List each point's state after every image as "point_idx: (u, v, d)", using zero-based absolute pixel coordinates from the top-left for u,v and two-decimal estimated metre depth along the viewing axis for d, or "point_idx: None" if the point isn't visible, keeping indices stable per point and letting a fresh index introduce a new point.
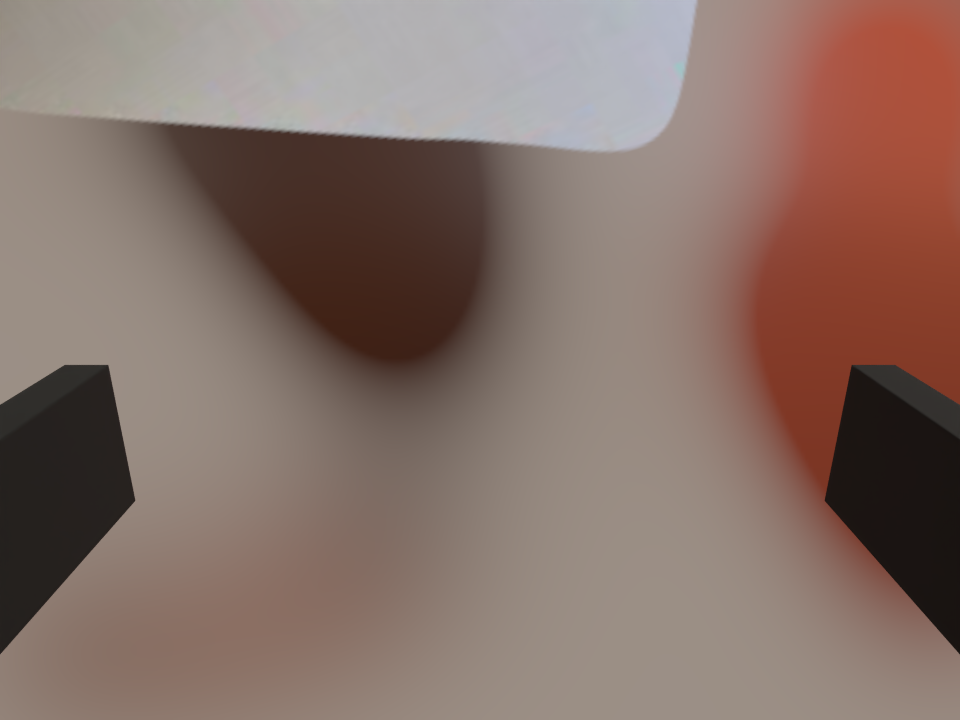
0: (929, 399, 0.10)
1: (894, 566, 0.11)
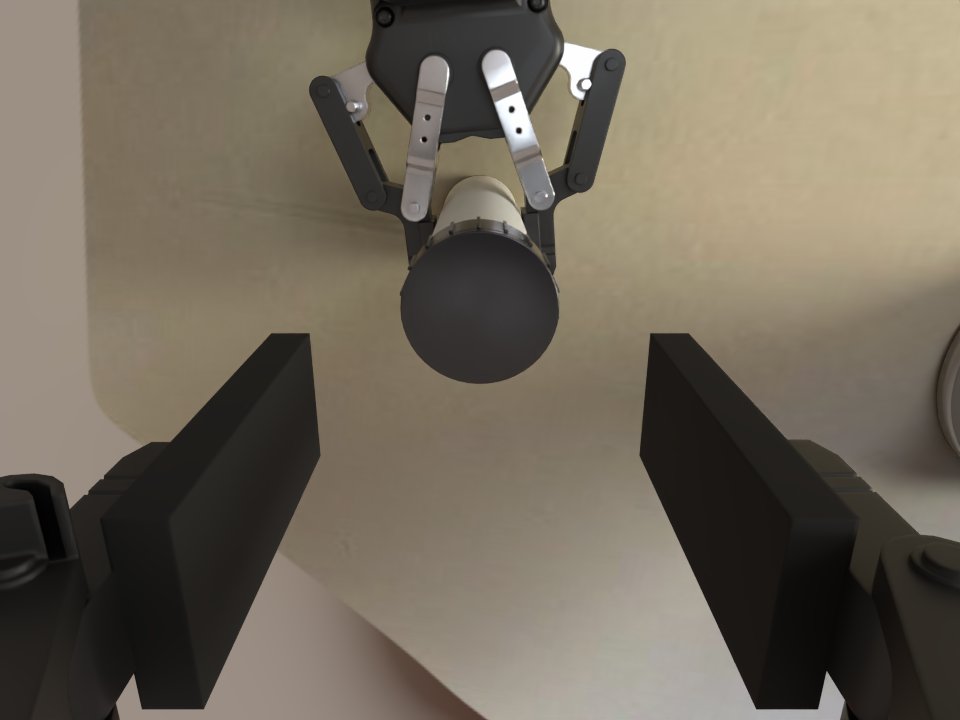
0: (693, 359, 0.12)
1: (667, 504, 0.12)
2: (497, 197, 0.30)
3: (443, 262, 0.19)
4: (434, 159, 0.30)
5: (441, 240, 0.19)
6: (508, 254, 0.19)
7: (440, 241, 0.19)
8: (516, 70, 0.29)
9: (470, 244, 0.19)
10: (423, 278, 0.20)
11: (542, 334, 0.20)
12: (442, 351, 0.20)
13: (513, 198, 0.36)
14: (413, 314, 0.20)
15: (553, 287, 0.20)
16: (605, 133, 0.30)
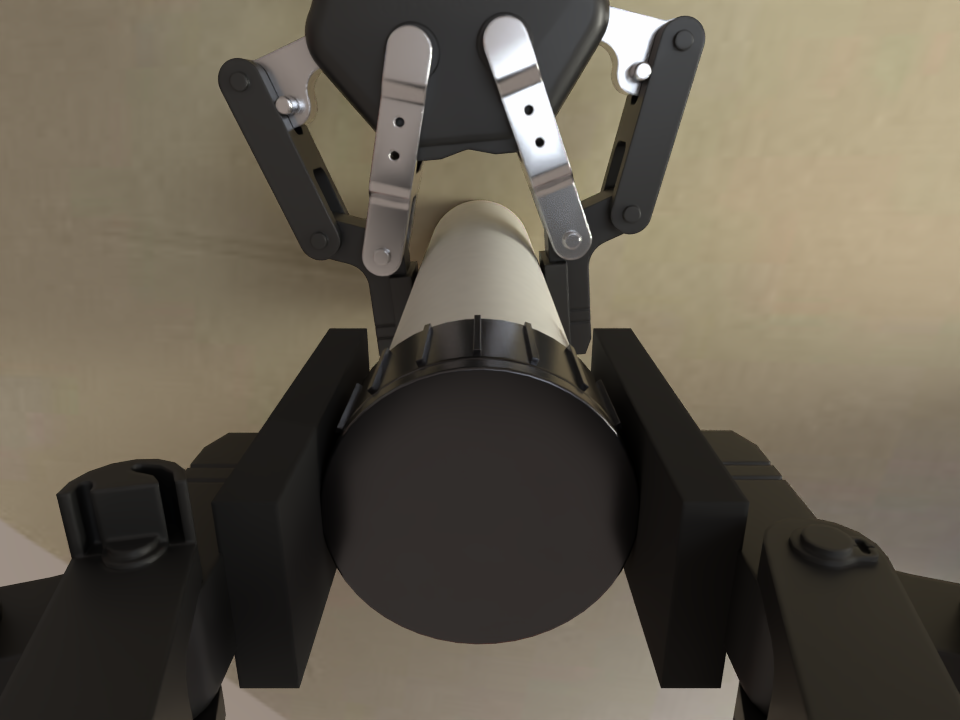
0: (629, 353, 0.12)
1: None
2: (506, 243, 0.20)
3: (404, 428, 0.09)
4: (410, 185, 0.19)
5: (399, 384, 0.09)
6: (539, 412, 0.09)
7: (397, 386, 0.09)
8: (536, 50, 0.19)
9: (460, 393, 0.09)
10: (363, 458, 0.10)
11: (605, 559, 0.10)
12: (405, 590, 0.10)
13: (526, 232, 0.26)
14: (345, 524, 0.10)
15: (630, 475, 0.10)
16: (670, 146, 0.20)
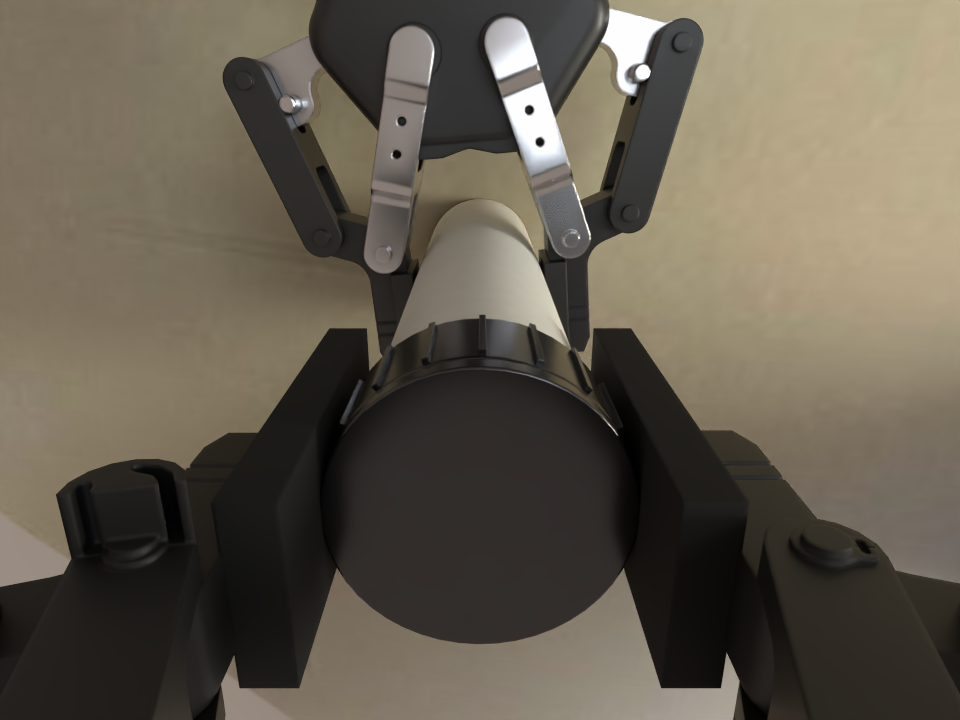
0: (629, 353, 0.12)
1: None
2: (506, 241, 0.20)
3: (396, 587, 0.10)
4: (412, 184, 0.20)
5: (357, 591, 0.10)
6: (356, 482, 0.10)
7: (359, 592, 0.10)
8: (537, 51, 0.19)
9: (351, 549, 0.10)
10: (433, 614, 0.10)
11: (514, 393, 0.09)
12: (574, 571, 0.10)
13: (526, 231, 0.26)
14: (505, 624, 0.10)
15: (406, 389, 0.09)
16: (668, 146, 0.20)
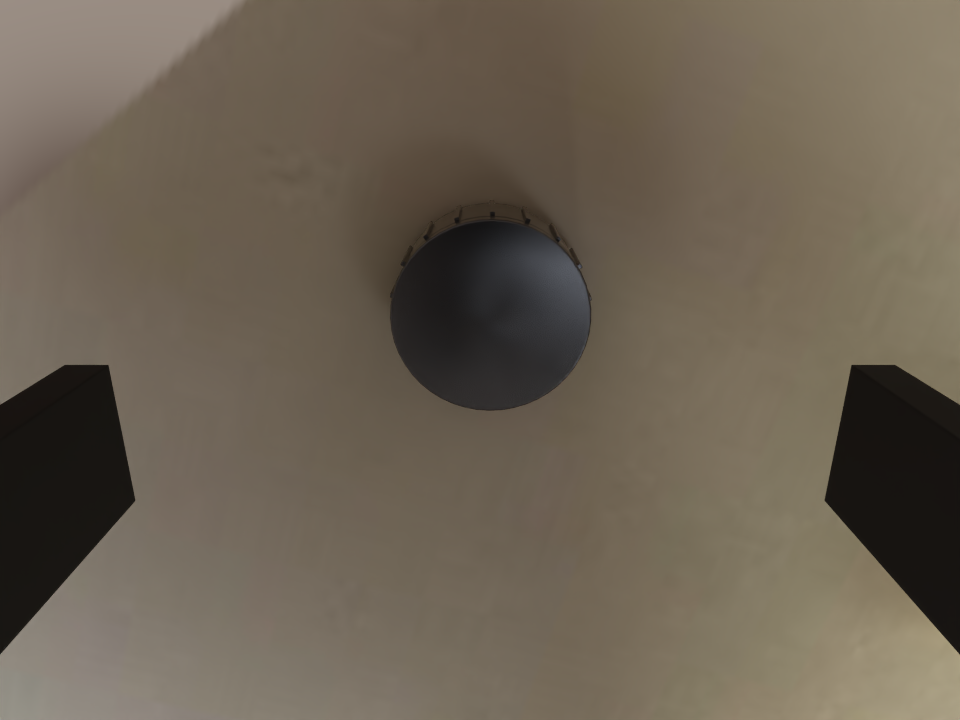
0: (929, 399, 0.10)
1: (894, 566, 0.11)
2: None
3: (437, 369, 0.16)
4: None
5: (412, 373, 0.16)
6: (413, 296, 0.16)
7: (413, 374, 0.16)
8: None
9: (409, 342, 0.16)
10: (460, 389, 0.16)
11: (512, 236, 0.15)
12: (550, 358, 0.16)
13: None
14: (506, 395, 0.16)
15: (446, 233, 0.15)
16: None
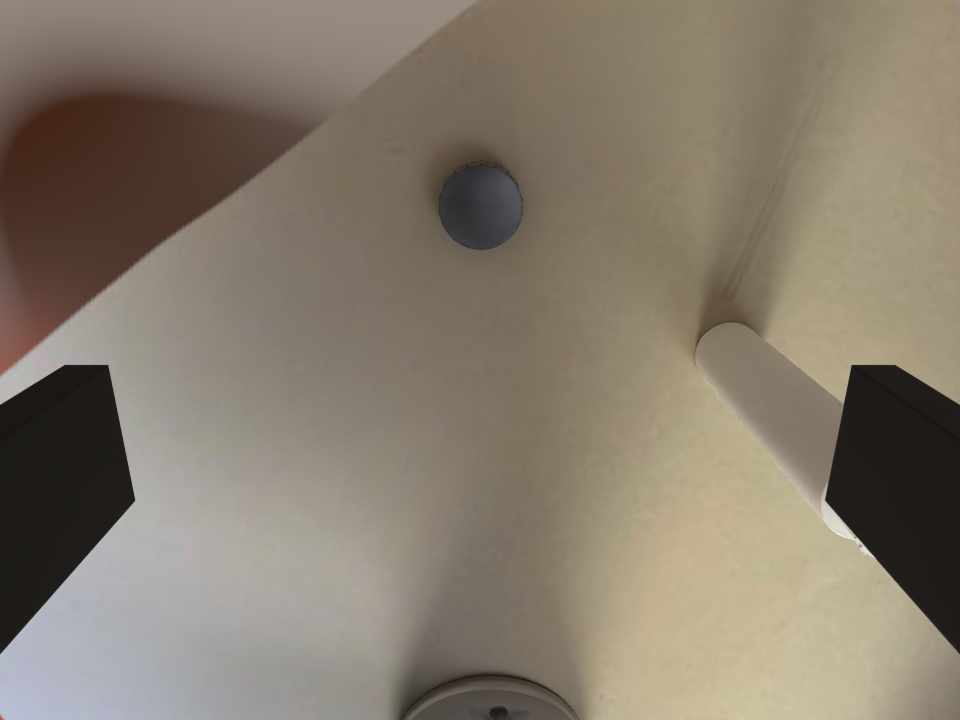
0: (929, 399, 0.10)
1: (894, 566, 0.11)
2: None
3: (458, 230, 0.38)
4: None
5: None
6: (449, 197, 0.38)
7: (448, 233, 0.39)
8: None
9: (447, 218, 0.38)
10: (468, 239, 0.39)
11: (489, 172, 0.37)
12: (505, 225, 0.38)
13: None
14: (487, 242, 0.39)
15: (462, 171, 0.37)
16: None
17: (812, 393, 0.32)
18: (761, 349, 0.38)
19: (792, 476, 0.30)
